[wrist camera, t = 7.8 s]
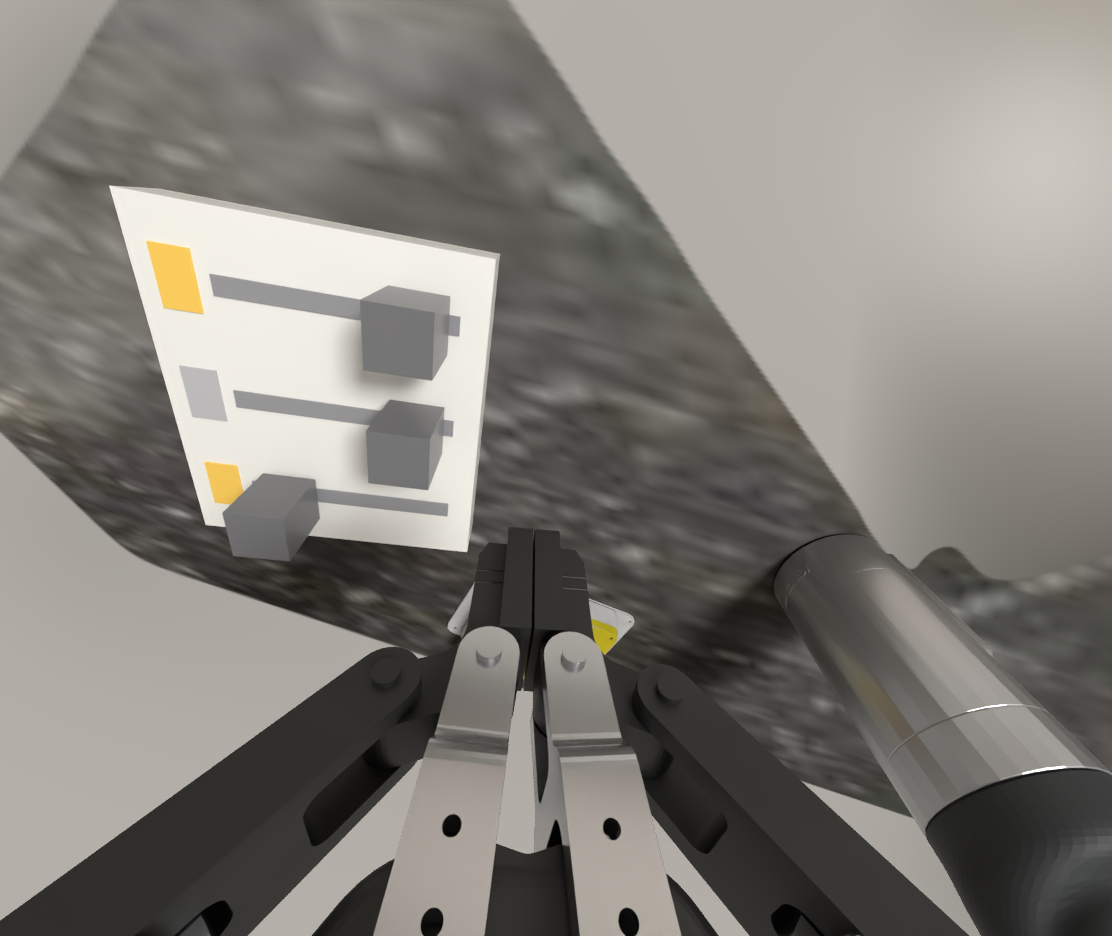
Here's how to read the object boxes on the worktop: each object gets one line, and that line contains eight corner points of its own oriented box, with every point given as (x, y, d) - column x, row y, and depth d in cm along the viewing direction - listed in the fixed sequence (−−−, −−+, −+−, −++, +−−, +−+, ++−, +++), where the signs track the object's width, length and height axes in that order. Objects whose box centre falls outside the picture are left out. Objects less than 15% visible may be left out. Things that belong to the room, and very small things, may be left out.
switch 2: (450, 296, 22) (434, 312, 18) (447, 355, 23) (432, 380, 20) (388, 285, 21) (359, 299, 18) (389, 346, 23) (363, 370, 19)
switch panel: (499, 254, 24) (495, 259, 21) (472, 525, 33) (466, 553, 31) (159, 188, 22) (107, 185, 19) (232, 498, 31) (204, 525, 28)
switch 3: (444, 407, 25) (430, 439, 21) (442, 453, 26) (428, 490, 23) (390, 399, 24) (366, 430, 21) (390, 446, 26) (368, 483, 22)
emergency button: (483, 596, 32) (648, 655, 36) (489, 555, 36) (637, 613, 40) (435, 667, 36) (589, 713, 40) (444, 624, 40) (584, 670, 44)
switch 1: (315, 479, 27) (282, 519, 23) (319, 518, 28) (290, 561, 25) (263, 473, 26) (222, 513, 23) (270, 513, 28) (232, 555, 24)
